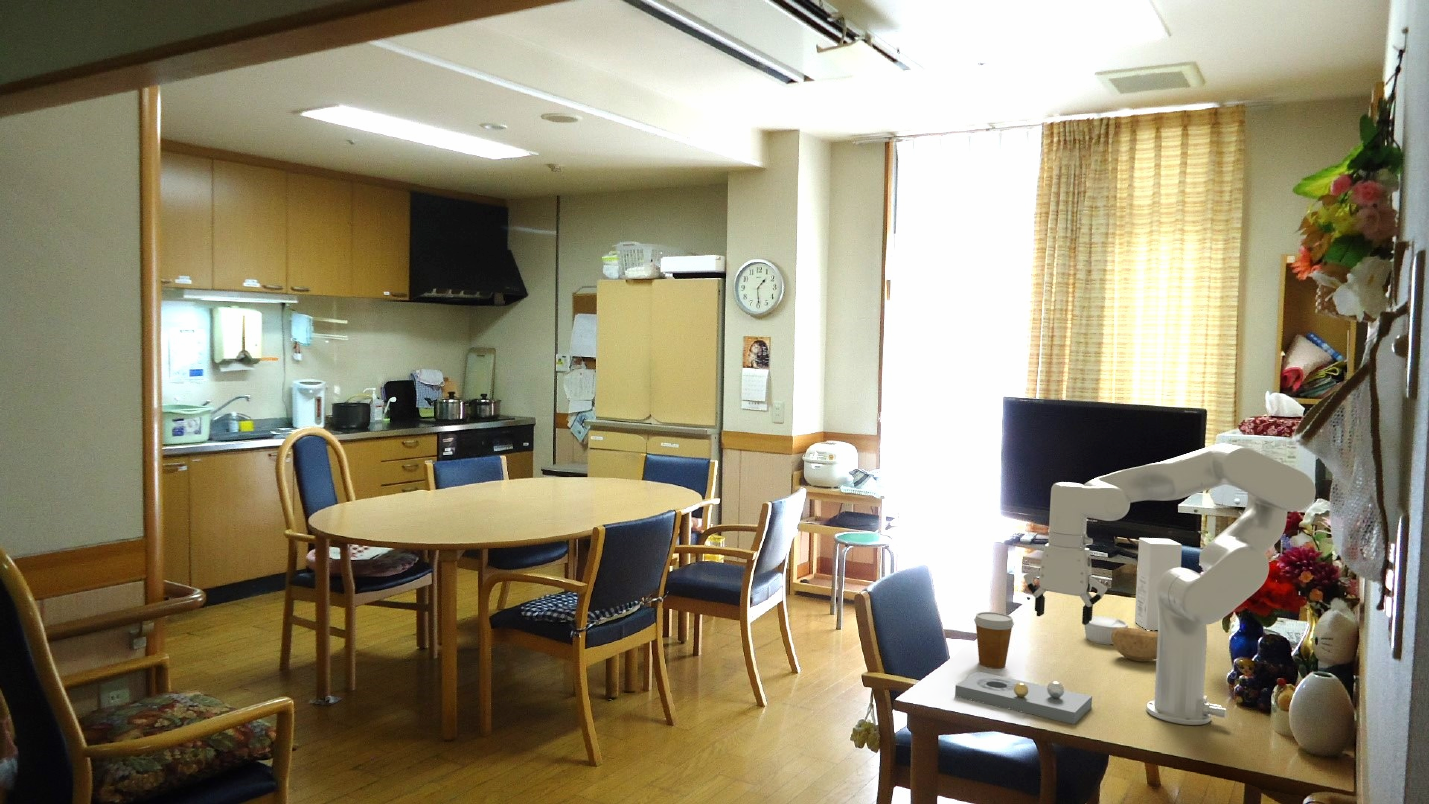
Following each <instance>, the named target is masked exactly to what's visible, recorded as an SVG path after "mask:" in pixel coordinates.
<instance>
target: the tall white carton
mask: <svg viewBox="0 0 1429 804" xmlns="http://www.w3.org/2000/svg"><path fill="white" fill-rule="evenodd" d="M1182 549H1183V544H1181V543H1179V542H1177V541H1174V540H1172V539H1170V538H1155V537H1154V538H1153V537H1152V538H1151V537H1150V538H1149V537H1139V538H1138V551H1137V552H1138V553H1137V556H1138V558H1137V569H1136V589H1135V610H1134V612H1135V613H1134V623H1135V624H1136V623H1137V624H1136V625H1138V626H1139V627H1141V628H1142V627H1143V628H1142V629H1143V630H1145V629H1146V630H1158V608H1157V599H1156V589H1157V584H1158V581H1159V579H1160V577H1161V576H1162V575H1163V574H1164V573H1165V572H1166V571H1168V570H1170V569H1173V568H1182V551H1183V550H1182Z"/></svg>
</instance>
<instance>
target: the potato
mask: <svg viewBox="0 0 1429 804" xmlns="http://www.w3.org/2000/svg"><path fill="white" fill-rule="evenodd" d="M1111 641H1112V643H1113V645H1112V646H1113V647H1114V648H1115V650H1116V651H1117V652H1118V653H1119V654H1120V655H1122V656H1123V657H1125V658H1126V659H1130V660H1132V661H1134V662H1135V661H1136V662H1149V661H1153V660H1157V641H1158V631H1147V630H1145V629H1144V628H1134V627H1133V628H1132V627H1129V626H1128V627H1119V628H1117V629H1115V630H1114V631H1113V633H1112V635H1111Z"/></svg>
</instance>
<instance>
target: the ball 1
mask: <svg viewBox="0 0 1429 804" xmlns="http://www.w3.org/2000/svg"><path fill="white" fill-rule="evenodd" d="M1014 693H1015V694H1016V695H1017V696H1018V697H1025V696H1026V695H1027V694H1028V687H1027V686H1026V685H1025V684H1023V683H1018V684H1016V685H1015V687H1014Z"/></svg>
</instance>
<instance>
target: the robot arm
mask: <svg viewBox="0 0 1429 804" xmlns="http://www.w3.org/2000/svg"><path fill="white" fill-rule="evenodd" d="M1224 485H1227V486H1231V487H1235V488H1237V489H1239V490H1241V491H1244V492H1245V493H1247V502H1246V506H1245V509H1244V511H1243V512H1242V513H1241V515H1240V516H1239V517H1238V518H1237V519H1236V520H1234V522H1233V523H1231V524H1230V525H1229V526H1227V527H1226V528H1225V529H1224V530H1223V531H1222V532H1220V533H1218V535H1217V536H1215V537H1214V538H1213V539H1212V540H1210V541H1209V542H1207V544H1205V545H1204V547H1203V548H1202V549H1201V551H1200V553H1199V559H1198V560H1199V565H1200V567H1201V568H1202V570H1203V571H1204V572H1203V573H1199V572H1196V571H1195V570H1193V569H1189V568H1188V567H1187V568H1185V567H1181V568H1173V569H1170V570H1168V571H1166V572H1165V573H1164V574H1163V575H1162V576H1161V577H1160V579H1159V581H1158V584H1157V589H1156V599H1157V608H1158V631H1157V632H1158V641H1157V659H1155V660H1156V663H1155V680H1154V681H1155V684H1154V685H1155V686H1154V700H1151V701H1148V702H1147V703H1146V707H1145V710H1146V712H1147V713H1149V715H1150V716H1153V717H1155V718H1156V719H1160V720H1161V721H1166V722H1169V723H1172V724H1173V723H1174V724H1178V725H1187V726H1188V725H1189V726H1200V725H1206V724H1208V723H1210V722H1211V719H1212V716H1215V717H1217V718H1223V719H1226V717H1227V708H1223V707H1222V705H1220V704H1215V703H1210V701H1208V695H1205V680H1206V679H1205V678H1206V662H1207V661H1206V660H1207V647H1208V643H1207V642H1208V629H1207V627H1208V625H1212V624H1215V623H1218V622H1219V621H1221V620H1222V619H1224V618H1225V617H1227V616H1228V615H1230V614H1231V613H1232V612H1233V611H1235V609H1237V608H1238V607H1239V606H1241V605H1242V604H1243V603H1244V602H1245V601H1247V599H1249V598H1250V597H1252V596H1253V595H1254V594H1255V593H1257V591H1258V590H1259V589H1261V588H1262V586H1263V585H1264V584H1265V582H1266V580H1267V578H1268V575H1269V571H1270V564H1269V559H1268V558H1267V556H1266V553H1267V552H1268V551H1270V549H1271V548H1272V547H1273V546H1275V544H1276V543H1278V541H1279V540H1280V539H1281V538H1282V536H1283V533H1284V532H1285V529H1286V525H1287V519H1288V512H1298V511H1299V512H1300V511H1302V510H1304V509H1306V508H1308V507H1309V506H1310V505H1311V504H1312V503H1313V502H1314V500H1315V497H1316V491H1317V489H1316V486H1315V483H1314V481H1313V480H1312V478H1311V477H1310V476H1309V475H1308V474H1306V473H1305V472H1304V471H1302V470H1299V469H1297V468H1294V467H1292V466H1290V465H1288V464H1285V463H1282V462H1280V461H1278V460H1276V459H1274V458H1273V457H1270V456H1266V455H1265V454H1263V453H1260V452H1259V451H1256V450H1254V449H1252V448H1249V447H1246V446H1241V445H1237V444H1230V443H1219V444H1214V445H1211V446H1208V447H1204V448H1201V449H1198V450H1195V451H1191V452H1189V453H1186V454H1182V455H1179V456H1176V457H1173V458H1169V459H1166V460H1163V461H1160V462H1158V461H1157V462H1155V463H1153V462H1152V463H1149V464H1145V465H1141V466H1136V467H1131V468H1127V469H1122V470H1118V471H1115V472H1111V473H1109V474H1106V475H1101V476H1098V477H1095V478H1094V479H1091V480H1089V481H1087V482H1085V483H1084V484H1082V483H1077V482H1069V481H1068V482H1066V481H1065V482H1064V481H1061V482H1055V483H1053V485H1052V486H1051V490H1050V506H1049V524H1048V542H1047V543H1046V544H1045V545H1044V548H1043V551H1042V557H1041V563H1040V567H1039V569H1037V570H1035V571H1031V572H1028V573H1026V574H1024V575H1023V579H1024V581H1025V583H1026V585H1027V588H1028V590H1029V591H1030V593H1032V595H1033V597H1034V611H1035V612H1036V617H1041V616H1043V615H1044V614H1045V604H1046V603H1045V602H1046V597H1045V595H1044V594H1045V593H1046V592H1049V593H1050V592H1051V593H1056V594H1061V595H1069V596H1075V597H1080V599H1081V600H1082V602H1083V603H1084V605H1083V606H1082V616H1081V617H1082V618H1081V623H1082V625H1083V626H1084V625H1087V624H1088V623H1089V621H1091V620H1092V616H1093V608H1094V605H1095V604H1096V603H1098V601H1100V600H1102V599H1103V597H1104V595H1105V593H1106V592H1107V591H1108V587H1107V586H1106V585H1105V584H1103V583H1101V582H1100V581H1098V580H1097V579H1095V578H1094V577H1092V574H1093V572H1092V571H1093V570H1092V558H1091V550H1090V548H1088V547H1087V546H1089V545H1093V542H1094V539H1093V538H1090V537H1088V534H1087V524H1088V523H1087V521H1088V518H1090V519H1095V520H1102V521H1107V522H1108V521H1109V522H1112V521H1118V520H1120V519H1122V518H1124V517H1125V516H1126V515H1127V514H1128V512H1129V510H1130V507H1131V503H1136V502H1143V501H1176V500H1180V499H1181V500H1182V499H1183V498H1186V497H1189V496H1190V497H1191V496H1192V495H1195V494H1200V493H1202V492H1206V491H1208V490H1211V489H1214V488H1218V487H1221V486H1224ZM1037 577H1039V579H1038V584H1039V585H1038V586H1039V587H1038V586H1037V585H1036V583H1035V582H1034V578H1037ZM1092 587H1094V589H1096V590H1097V592H1096V594H1095V595H1094V596H1093V595H1092V594H1091V593H1090V592H1091V590H1092Z"/></svg>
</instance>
